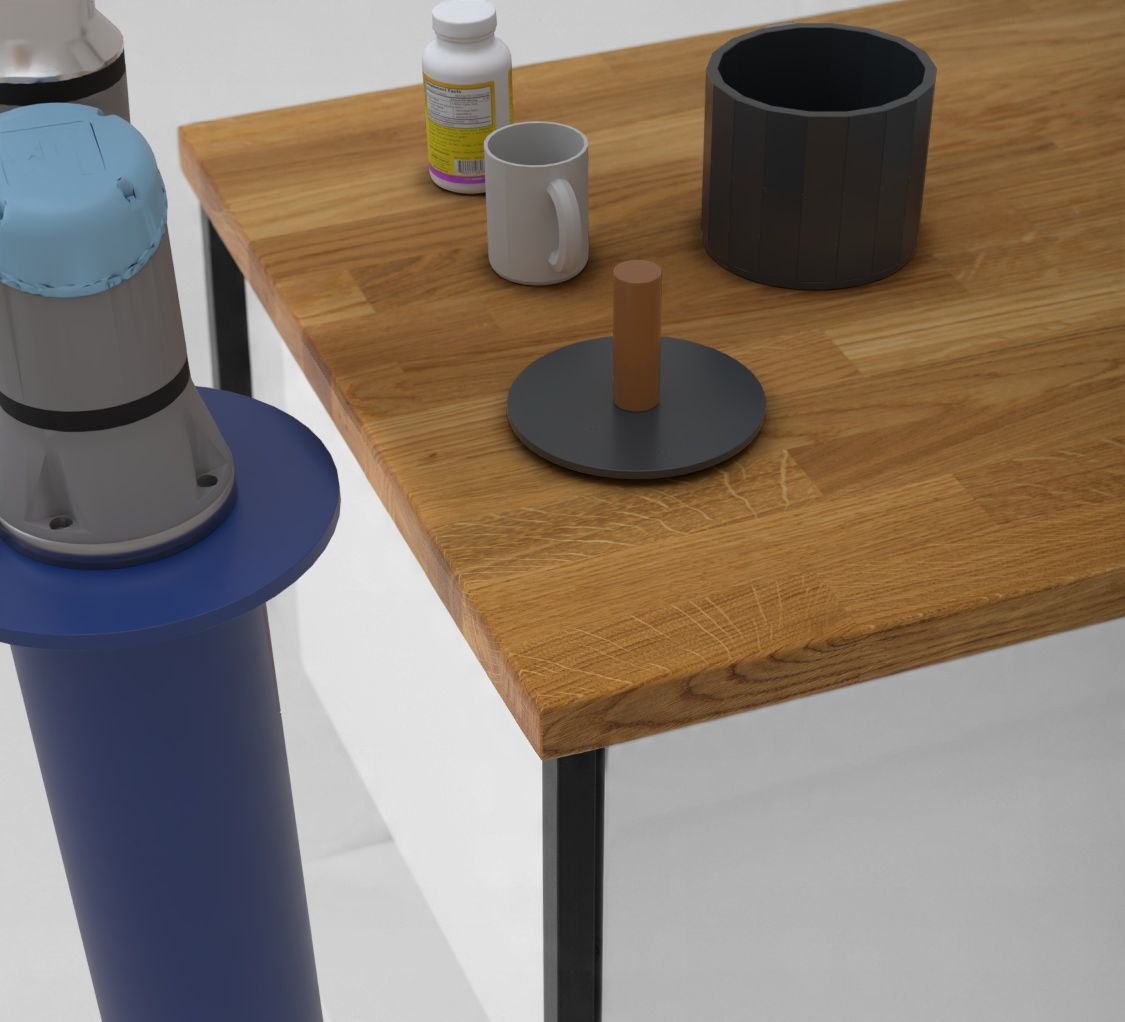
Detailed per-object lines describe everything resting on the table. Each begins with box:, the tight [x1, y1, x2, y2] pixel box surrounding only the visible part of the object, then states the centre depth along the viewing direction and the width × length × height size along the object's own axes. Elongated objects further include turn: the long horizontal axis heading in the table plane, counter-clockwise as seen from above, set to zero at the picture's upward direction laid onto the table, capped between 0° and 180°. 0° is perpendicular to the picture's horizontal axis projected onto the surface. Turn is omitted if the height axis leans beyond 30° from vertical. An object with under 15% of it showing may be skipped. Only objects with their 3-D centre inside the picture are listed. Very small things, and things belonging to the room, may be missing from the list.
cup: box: [484, 120, 590, 286], centre depth 146 cm, size 7×10×9 cm
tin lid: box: [506, 259, 767, 480], centre depth 132 cm, size 17×17×10 cm
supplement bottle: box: [421, 0, 515, 195], centre depth 156 cm, size 7×7×13 cm
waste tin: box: [700, 22, 938, 291], centre depth 148 cm, size 16×16×13 cm
